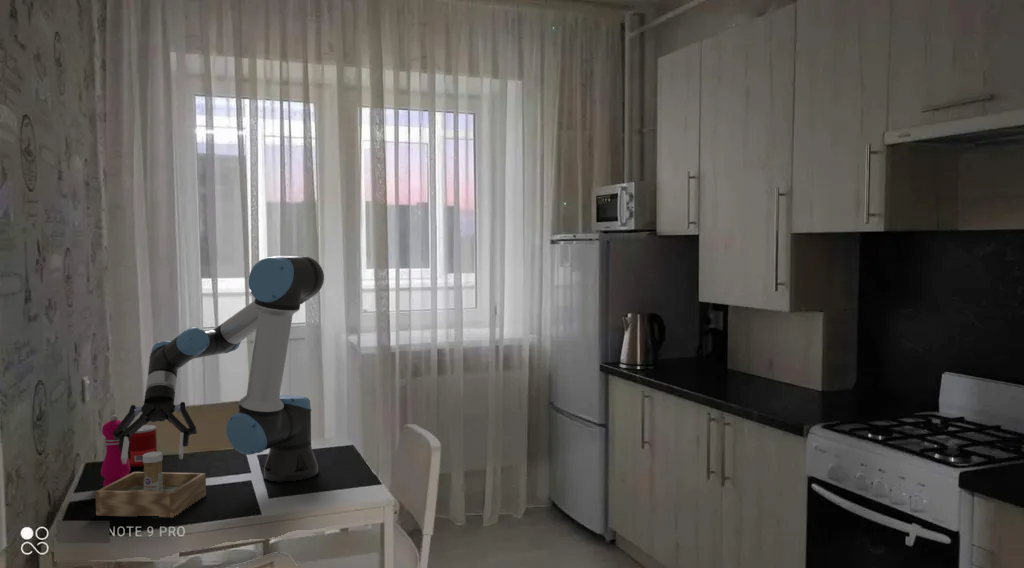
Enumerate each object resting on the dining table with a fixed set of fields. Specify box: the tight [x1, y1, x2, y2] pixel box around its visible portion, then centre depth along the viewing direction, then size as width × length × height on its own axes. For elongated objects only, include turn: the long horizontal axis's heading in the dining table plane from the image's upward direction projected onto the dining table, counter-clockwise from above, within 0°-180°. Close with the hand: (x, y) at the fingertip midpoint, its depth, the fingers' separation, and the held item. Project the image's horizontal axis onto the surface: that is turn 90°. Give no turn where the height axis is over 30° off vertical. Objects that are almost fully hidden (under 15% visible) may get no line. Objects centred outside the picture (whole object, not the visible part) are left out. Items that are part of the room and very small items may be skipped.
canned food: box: [127, 424, 158, 468], centre depth 224 cm, size 8×8×11 cm
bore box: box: [95, 471, 207, 518], centre depth 187 cm, size 20×16×6 cm
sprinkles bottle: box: [143, 451, 164, 492], centre depth 187 cm, size 5×5×13 cm
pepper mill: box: [100, 414, 131, 488], centre depth 202 cm, size 7×7×20 cm
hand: (152, 459), depth 190 cm, fingers open, 13 cm apart
